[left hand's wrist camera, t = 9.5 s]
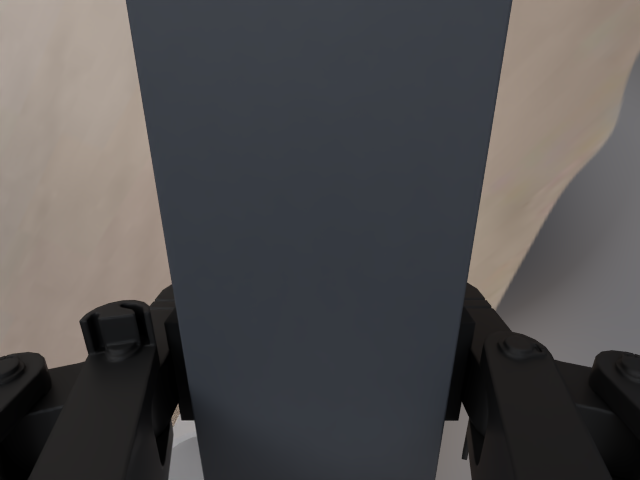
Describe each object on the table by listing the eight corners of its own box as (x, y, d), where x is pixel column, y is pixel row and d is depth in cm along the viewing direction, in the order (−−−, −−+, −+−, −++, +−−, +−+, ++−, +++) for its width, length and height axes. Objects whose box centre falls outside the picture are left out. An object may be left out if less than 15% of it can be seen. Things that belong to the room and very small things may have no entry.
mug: (272, 320, 33) (252, 413, 23) (310, 394, 36) (306, 503, 26) (163, 357, 34) (102, 459, 25) (209, 425, 37) (170, 539, 28)
